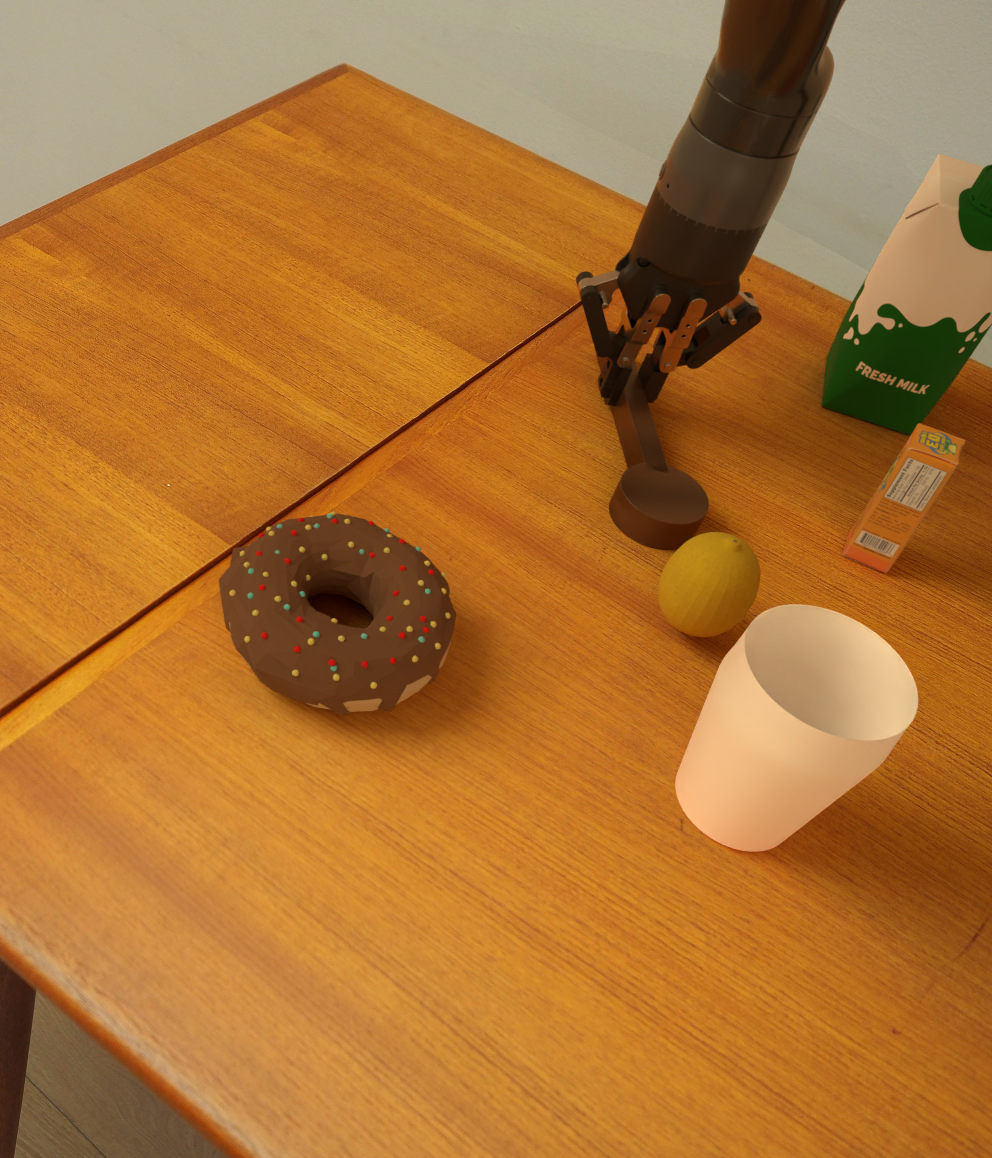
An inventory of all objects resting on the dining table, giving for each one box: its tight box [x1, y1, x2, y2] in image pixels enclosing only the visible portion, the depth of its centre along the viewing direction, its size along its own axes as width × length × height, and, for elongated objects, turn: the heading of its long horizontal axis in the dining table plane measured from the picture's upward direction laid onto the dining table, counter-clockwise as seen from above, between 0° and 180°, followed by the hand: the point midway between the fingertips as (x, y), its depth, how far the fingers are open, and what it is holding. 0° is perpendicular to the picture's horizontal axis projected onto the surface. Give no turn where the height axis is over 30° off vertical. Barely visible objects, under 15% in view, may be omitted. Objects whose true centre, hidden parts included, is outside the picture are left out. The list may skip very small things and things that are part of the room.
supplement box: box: [841, 423, 966, 574], centre depth 87 cm, size 3×3×10 cm
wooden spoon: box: [595, 330, 710, 550], centre depth 94 cm, size 21×6×2 cm, turn 179°
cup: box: [674, 603, 919, 853], centre depth 70 cm, size 9×9×12 cm
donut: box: [218, 511, 457, 717], centre depth 77 cm, size 14×14×5 cm
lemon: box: [657, 531, 762, 638], centre depth 80 cm, size 6×6×8 cm
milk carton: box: [821, 153, 992, 436], centre depth 96 cm, size 9×9×20 cm
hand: (622, 400), depth 98 cm, fingers closed on wooden spoon, 1 cm apart
